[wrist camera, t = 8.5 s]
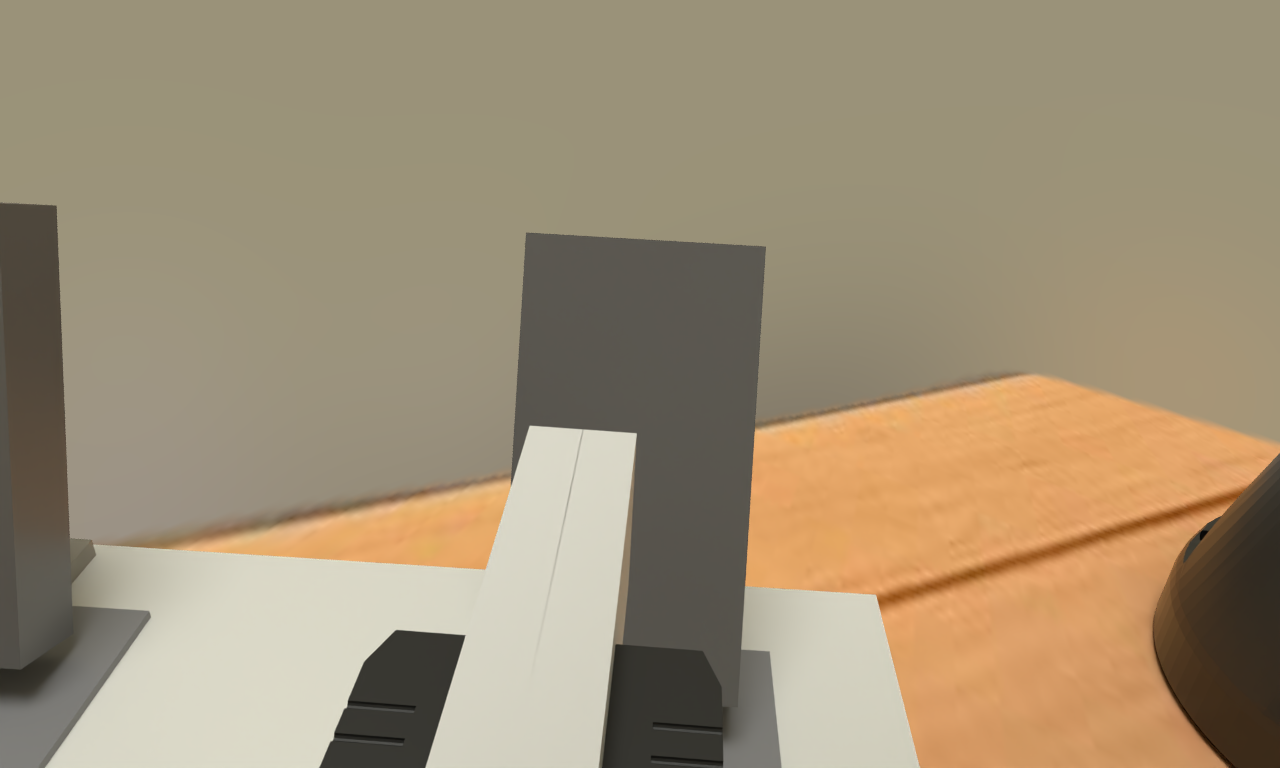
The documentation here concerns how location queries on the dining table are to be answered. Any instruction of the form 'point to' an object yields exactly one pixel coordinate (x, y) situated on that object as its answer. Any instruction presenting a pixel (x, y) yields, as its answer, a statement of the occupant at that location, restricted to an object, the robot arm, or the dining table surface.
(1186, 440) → the dining table surface
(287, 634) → the switch box
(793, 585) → the dining table surface
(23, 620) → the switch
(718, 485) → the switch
